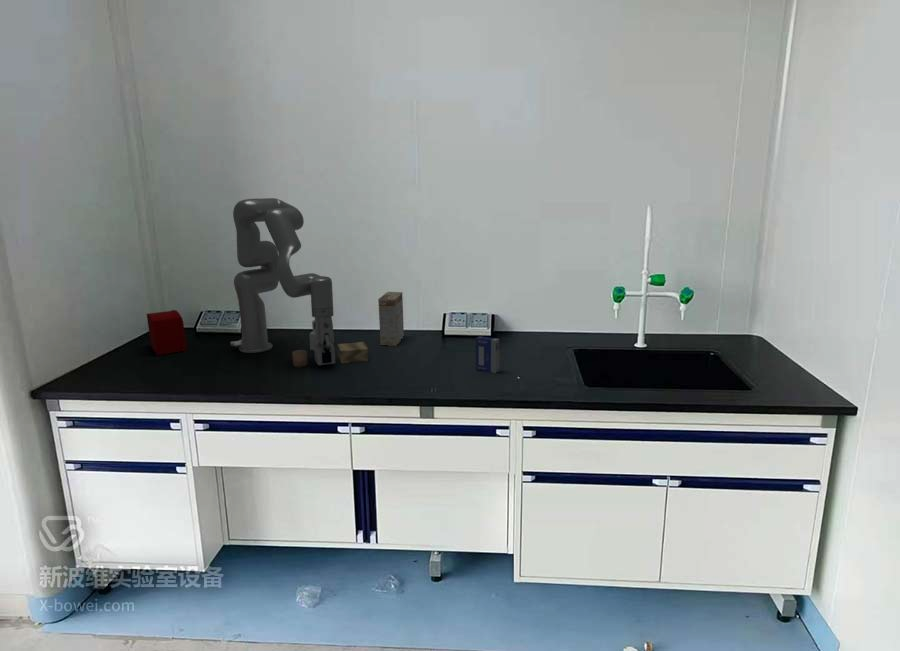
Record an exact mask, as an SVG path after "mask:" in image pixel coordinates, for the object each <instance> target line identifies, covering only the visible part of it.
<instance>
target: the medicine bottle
mask: <svg viewBox="0 0 900 651" xmlns="http://www.w3.org/2000/svg"><path fill="white" fill-rule="evenodd" d="M311 323H312V331H311V332H310V333H309V334H308V335H309V348H310V351H311V350H313V351H312V352H315V348H314V345H316V344H318V340H317V339H316V333H315V319H313V320H312V321H311ZM330 343H331V342H330ZM331 344H332V343H331ZM332 345H333V346H334V343H333V344H332Z"/></svg>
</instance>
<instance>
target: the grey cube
mask: <svg viewBox="0 0 900 651" xmlns="http://www.w3.org/2000/svg"><path fill="white" fill-rule="evenodd" d="M325 347H326V346H324V349H325ZM330 347H331V359H332V362H331V363H323V362H322V352H323V350H322V345H321V344H316V345H314V348H315V351H314V361H315V363H316V364H317V366H323V365H333V364H336V354H335V353H336V352H335V351H336V350H335V349H336V348H335V346H334V344H333V345H332V344H331V343H330Z"/></svg>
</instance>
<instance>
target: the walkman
mask: <svg viewBox="0 0 900 651" xmlns="http://www.w3.org/2000/svg"><path fill="white" fill-rule="evenodd" d="M475 370H476V371H480V370H481V372H485V371H486V373H491V372H492V374H497V373H499V372H500V339H499V338H493V337H488V336H487V337H486V336H480V335H479V336H477V337H476V338H475ZM496 372H497V373H496Z"/></svg>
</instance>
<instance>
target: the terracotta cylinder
mask: <svg viewBox="0 0 900 651" xmlns="http://www.w3.org/2000/svg"><path fill="white" fill-rule="evenodd" d="M307 353H308V352H307V350H305V349H297V350H294V351H292V352H291V354H292V364H293V365H294V366H299V367H298V368H301V367H300V366H304V367H306V366H305V365H307V366H308V357H307V356H308V354H307ZM294 366H293V367H294Z"/></svg>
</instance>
